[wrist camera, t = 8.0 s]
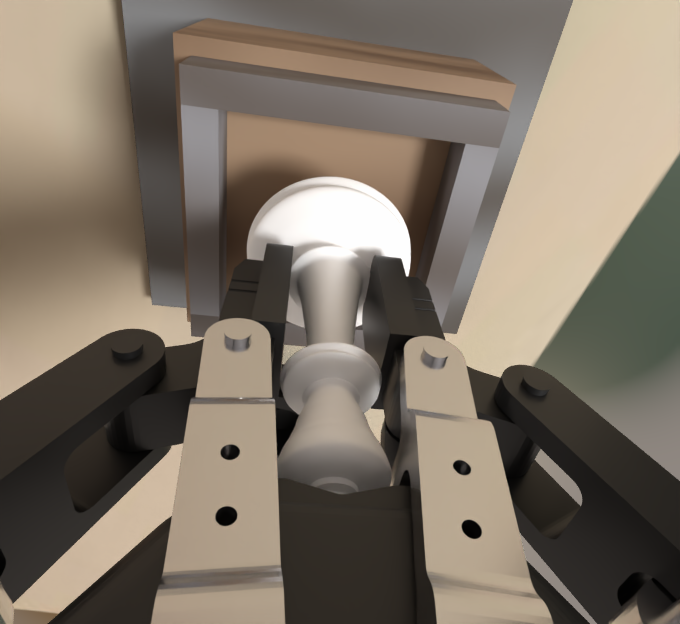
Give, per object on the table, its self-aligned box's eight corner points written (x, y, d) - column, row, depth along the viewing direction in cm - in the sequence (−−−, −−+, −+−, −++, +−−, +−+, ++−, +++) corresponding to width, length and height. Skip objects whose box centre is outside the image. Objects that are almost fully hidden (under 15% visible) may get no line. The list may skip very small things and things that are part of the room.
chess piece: (237, 305, 16) (142, 669, 8) (260, 157, 13) (152, 475, 5) (382, 332, 16) (440, 688, 8) (433, 197, 14) (593, 530, 6)
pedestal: (121, -102, 16) (-1, -145, 10) (569, -23, 18) (696, -18, 12) (157, 293, 25) (104, 396, 19) (452, 322, 27) (490, 426, 21)
